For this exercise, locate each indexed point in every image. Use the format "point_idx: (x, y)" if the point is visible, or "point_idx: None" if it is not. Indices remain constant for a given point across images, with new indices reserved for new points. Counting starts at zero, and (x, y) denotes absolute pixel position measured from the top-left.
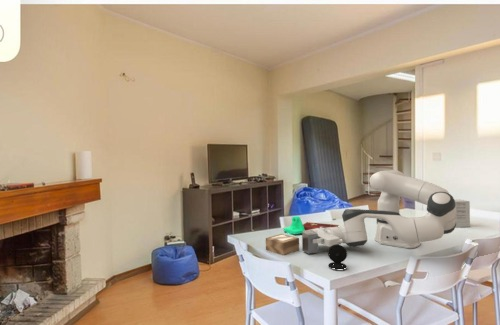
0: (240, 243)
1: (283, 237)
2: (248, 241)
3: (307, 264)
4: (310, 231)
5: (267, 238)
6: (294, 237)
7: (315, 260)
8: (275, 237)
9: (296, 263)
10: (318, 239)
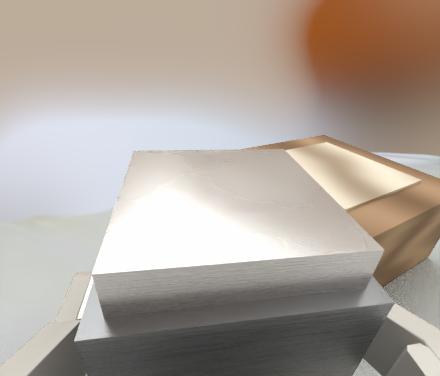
0: (387, 156)
1: (340, 171)
2: (429, 172)
3: (4, 260)
4: (202, 187)
5: (318, 137)
6: (368, 223)
7: (2, 343)
8: (335, 151)
9: (71, 223)
10: (13, 360)
